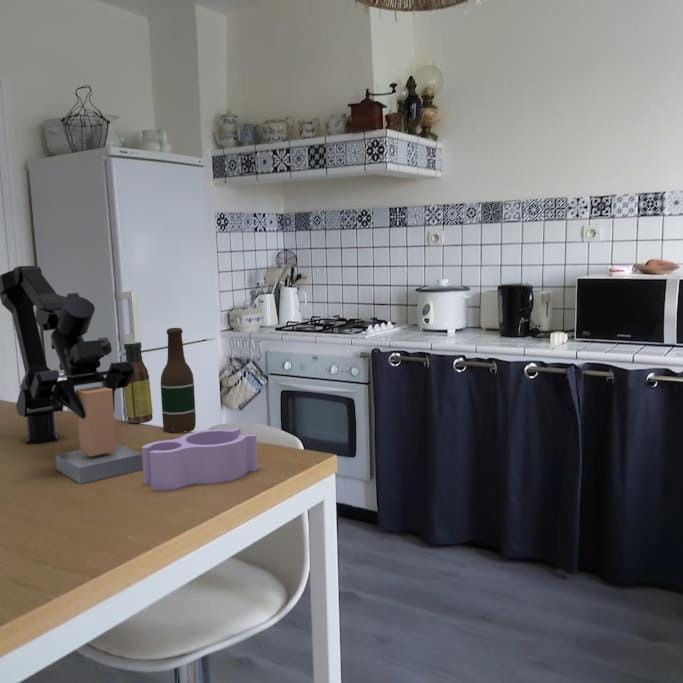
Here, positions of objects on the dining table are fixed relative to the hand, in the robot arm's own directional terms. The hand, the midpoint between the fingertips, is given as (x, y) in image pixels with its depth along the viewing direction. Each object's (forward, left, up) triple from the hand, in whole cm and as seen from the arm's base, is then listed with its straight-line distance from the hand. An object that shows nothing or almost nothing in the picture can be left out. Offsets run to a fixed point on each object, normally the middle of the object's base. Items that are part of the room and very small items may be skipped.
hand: (98, 414), depth 130 cm
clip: (+11, +17, -11) cm, 23 cm away
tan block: (-1, 0, -7) cm, 7 cm away
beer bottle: (-26, +19, -11) cm, 34 cm away
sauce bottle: (-39, +11, -11) cm, 42 cm away
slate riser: (-1, 0, -11) cm, 11 cm away
